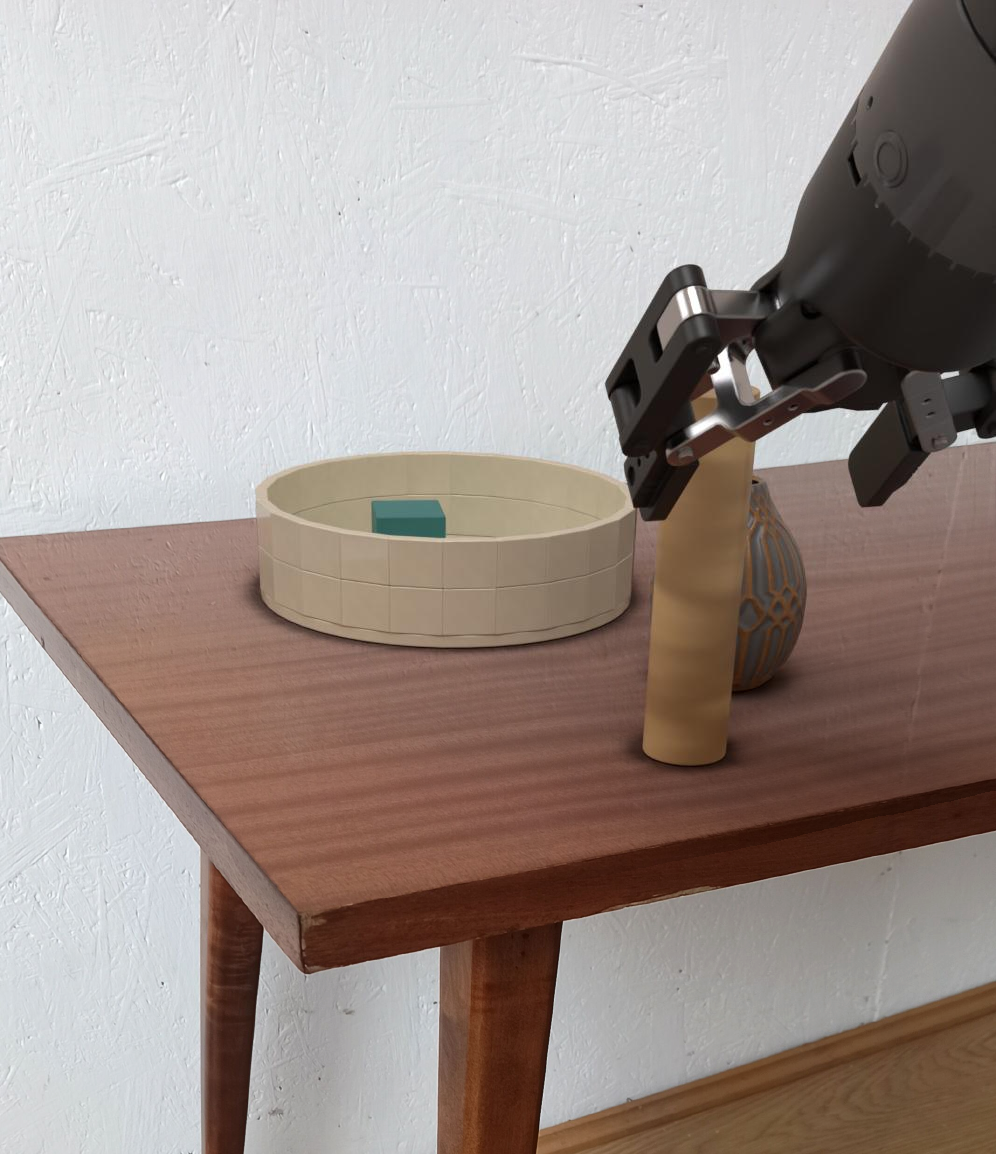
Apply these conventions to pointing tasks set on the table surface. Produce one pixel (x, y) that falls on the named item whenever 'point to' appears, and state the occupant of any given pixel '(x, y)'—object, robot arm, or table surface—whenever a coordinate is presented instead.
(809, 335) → the robot arm
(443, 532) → the block
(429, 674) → the table surface
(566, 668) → the table surface
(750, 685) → the vase
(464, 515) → the bowl
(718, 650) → the stick
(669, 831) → the table surface
